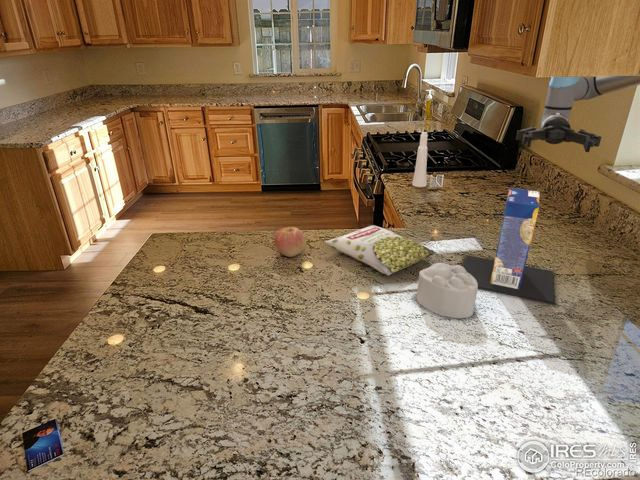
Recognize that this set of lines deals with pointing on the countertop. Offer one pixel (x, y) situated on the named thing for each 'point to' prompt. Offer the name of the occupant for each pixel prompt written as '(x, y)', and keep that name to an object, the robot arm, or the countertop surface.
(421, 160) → the cosmetic bottle
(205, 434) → the countertop surface
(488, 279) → the mat
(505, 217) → the beverage box
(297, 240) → the apple
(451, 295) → the lumpy-topped squat cylinder
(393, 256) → the frozen beans
